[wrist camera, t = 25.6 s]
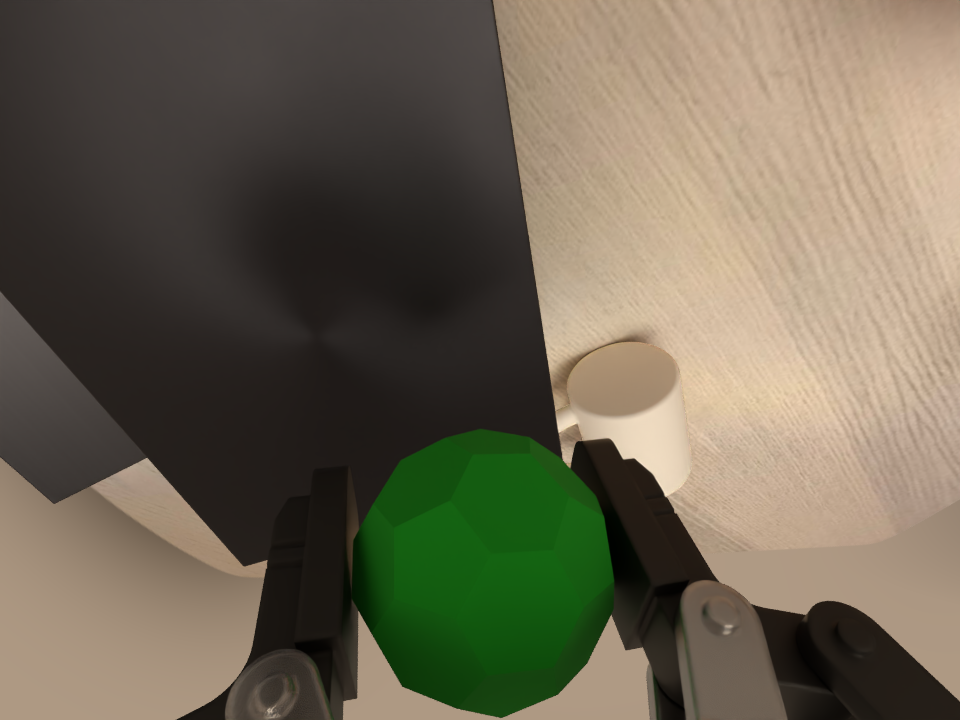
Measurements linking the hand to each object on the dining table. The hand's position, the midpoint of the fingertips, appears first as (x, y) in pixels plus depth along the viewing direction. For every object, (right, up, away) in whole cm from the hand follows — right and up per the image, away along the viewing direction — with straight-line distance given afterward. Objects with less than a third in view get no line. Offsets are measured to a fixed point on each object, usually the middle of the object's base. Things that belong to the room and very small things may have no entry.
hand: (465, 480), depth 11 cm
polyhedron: (0, 0, +1) cm, 1 cm away
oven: (-8, +12, +18) cm, 23 cm away
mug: (+10, 0, +31) cm, 33 cm away
